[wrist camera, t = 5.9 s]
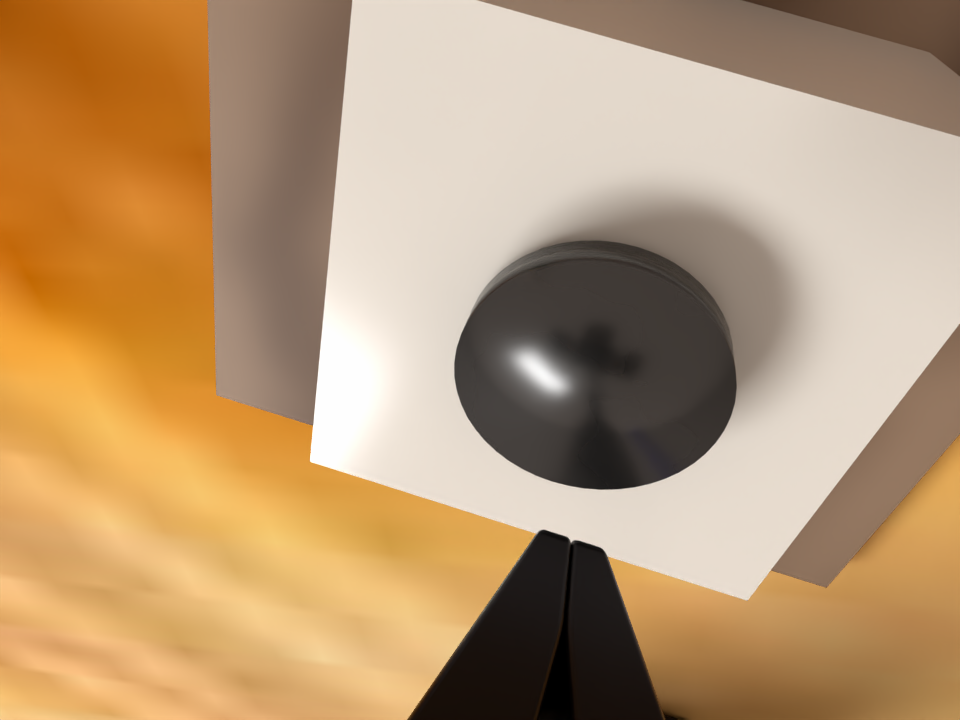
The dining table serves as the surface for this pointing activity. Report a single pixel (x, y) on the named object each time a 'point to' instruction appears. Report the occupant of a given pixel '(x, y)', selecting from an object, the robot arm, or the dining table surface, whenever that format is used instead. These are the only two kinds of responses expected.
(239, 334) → the board
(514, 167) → the white block with hole
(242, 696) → the dining table surface
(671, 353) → the plunger
